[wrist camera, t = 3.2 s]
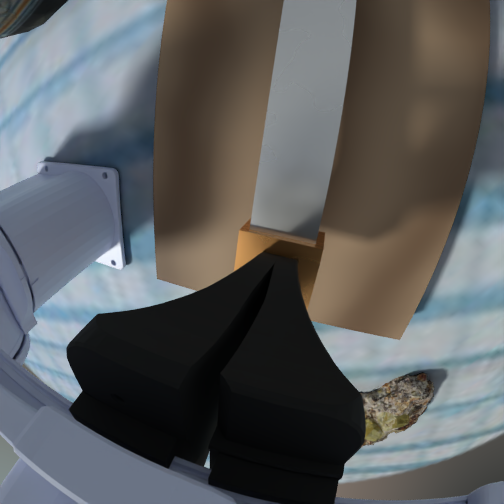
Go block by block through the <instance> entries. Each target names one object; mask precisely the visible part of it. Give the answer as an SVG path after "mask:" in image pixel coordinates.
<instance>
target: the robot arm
mask: <svg viewBox="0 0 504 504" xmlns="http://www.w3.org/2000/svg"><path fill="white" fill-rule="evenodd" d="M37 170H38V174H37V175H35V176H32V177H30V178H28V179H26V180H23V181H21V182H19V183H17V184H14V185H12V186H10V187H8V188H6V189H4V190H2V191H0V435H1V436H2V437H3V438H4V439H5V440H6V441H7V442H8V443H9V444H10V445H11V446H12V447H13V449H14V452H15V453H16V454H17V455H18V456H19V457H20V458H19V459H18V461H17V462H16V464H15V465H14V466H13V468H12V469H11V471H10V472H9V473H8V475H7V476H6V478H5V479H4V481H3V482H2V484H1V485H0V504H504V481H501V482H496V483H491V484H487V485H485V486H482V487H480V488H478V489H476V490H474V491H473V492H471V493H470V494H469V495H465V496H458V497H449V498H439V499H425V500H365V499H351V498H340V497H336V492H337V486H338V480H340V479H341V478H342V476H343V471H344V464H345V463H346V462H347V461H348V460H349V459H350V458H351V457H352V456H353V455H354V454H355V453H356V452H357V451H358V450H359V449H360V448H361V447H362V445H363V444H364V442H365V434H366V421H365V411H364V404H363V399H362V395H361V394H360V393H359V391H358V390H357V389H356V388H355V387H354V386H353V385H352V384H351V383H350V381H349V380H348V379H347V378H346V377H345V376H344V375H343V374H342V372H341V371H340V370H339V368H338V367H337V366H336V364H335V363H334V362H333V360H332V358H331V357H330V355H329V353H328V352H327V350H326V349H325V347H324V345H323V344H322V342H321V340H320V338H319V336H318V334H317V333H316V331H315V328H314V326H313V324H312V322H311V319H310V317H309V314H308V312H307V309H306V306H305V303H304V299H303V296H302V292H301V287H300V283H299V277H298V262H297V260H295V259H291V258H287V257H283V256H278V255H274V254H270V253H266V252H262V253H260V254H258V255H257V256H256V257H254V258H253V259H252V260H250V261H249V262H247V263H246V264H244V265H243V266H242V267H240V268H239V269H237V270H236V271H234V272H232V273H231V274H229V275H228V276H226V277H224V278H223V279H221V280H219V281H217V282H215V283H214V284H212V285H210V286H208V287H206V288H204V289H201V290H199V291H197V292H194V293H192V294H189V295H187V296H184V297H181V298H178V299H175V300H172V301H168V302H165V303H162V304H158V305H154V306H150V307H145V308H140V309H135V310H129V311H121V312H113V313H103V314H97V315H96V316H95V317H94V318H93V319H92V320H91V321H90V322H89V323H88V324H87V325H86V326H85V327H84V328H83V329H82V330H81V331H80V332H79V333H78V334H77V335H76V337H75V338H74V339H73V340H72V341H71V342H70V343H69V344H68V346H67V359H68V361H69V364H70V366H71V369H72V371H73V373H74V375H75V377H76V379H77V381H78V383H79V385H80V386H81V388H82V390H83V391H82V393H81V394H80V395H79V396H78V398H77V399H76V400H75V402H74V403H72V402H70V401H69V400H67V399H66V398H64V397H63V396H61V395H60V394H58V393H57V392H56V391H54V390H53V389H51V388H50V387H48V386H47V385H46V384H44V383H43V382H42V381H40V380H39V379H38V378H36V377H35V376H33V375H32V374H31V373H30V372H28V371H27V370H26V369H25V368H23V367H22V365H23V363H24V361H25V359H26V357H27V354H28V351H29V348H30V337H29V333H28V332H29V331H30V330H31V329H32V328H33V327H34V326H35V325H36V324H37V321H36V319H35V317H34V314H33V313H34V312H35V311H36V310H37V309H38V308H39V307H41V306H42V305H43V304H44V303H45V302H46V301H47V300H49V299H50V298H51V297H52V296H53V295H54V294H55V293H57V292H58V291H59V290H60V289H61V288H62V287H64V286H65V285H66V284H67V283H68V282H70V281H71V280H72V279H73V278H74V277H76V276H77V275H78V274H79V273H81V272H82V271H83V270H84V269H85V268H87V267H88V266H89V265H90V264H92V263H93V262H94V261H96V262H99V263H102V264H105V265H108V266H111V267H114V268H117V269H120V270H122V269H123V268H124V267H125V266H126V261H125V252H124V243H123V233H122V222H121V208H120V192H119V174H118V172H117V170H116V169H114V168H108V167H99V166H90V165H80V164H69V163H58V162H46V161H42V162H39V163H38V165H37ZM106 173H107V175H108V177H107V176H106ZM209 451H210V469H208V468H206V467H204V465H205V462H206V459H207V456H208V454H209Z"/></svg>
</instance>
